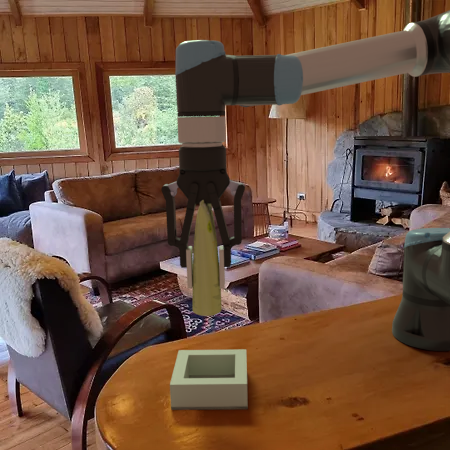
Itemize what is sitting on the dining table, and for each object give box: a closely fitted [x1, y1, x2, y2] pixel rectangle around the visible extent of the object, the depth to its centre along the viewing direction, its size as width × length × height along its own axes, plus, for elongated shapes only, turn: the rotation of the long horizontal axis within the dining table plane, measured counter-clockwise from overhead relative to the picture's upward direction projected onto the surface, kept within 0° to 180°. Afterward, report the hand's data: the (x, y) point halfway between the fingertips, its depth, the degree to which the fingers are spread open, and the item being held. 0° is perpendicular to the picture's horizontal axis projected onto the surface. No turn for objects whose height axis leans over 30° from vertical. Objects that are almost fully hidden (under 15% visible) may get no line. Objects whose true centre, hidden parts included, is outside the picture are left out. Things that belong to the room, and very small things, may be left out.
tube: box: [192, 199, 223, 317], centre depth 86 cm, size 6×5×20 cm
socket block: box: [169, 348, 248, 411], centre depth 91 cm, size 12×12×4 cm
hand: (206, 285), depth 87 cm, fingers closed on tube, 5 cm apart
